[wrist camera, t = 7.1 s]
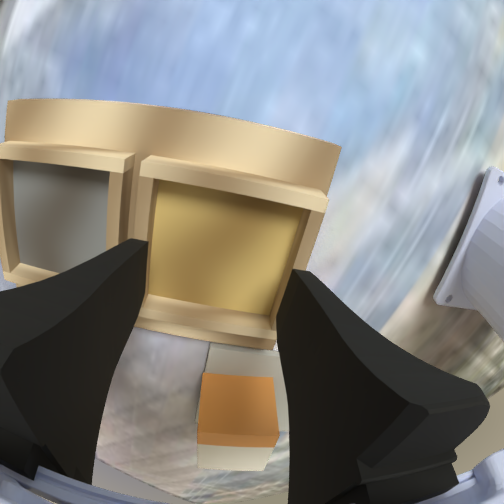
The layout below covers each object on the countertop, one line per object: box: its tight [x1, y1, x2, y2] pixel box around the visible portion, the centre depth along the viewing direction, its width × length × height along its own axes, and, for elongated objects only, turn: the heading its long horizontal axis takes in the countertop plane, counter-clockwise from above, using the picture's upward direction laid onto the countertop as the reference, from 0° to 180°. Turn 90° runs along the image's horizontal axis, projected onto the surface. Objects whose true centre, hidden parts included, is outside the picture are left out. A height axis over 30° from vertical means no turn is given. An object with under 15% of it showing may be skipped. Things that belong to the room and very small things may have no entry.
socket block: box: [0, 99, 342, 350], centre depth 12 cm, size 14×10×2 cm
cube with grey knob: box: [197, 373, 280, 471], centre depth 16 cm, size 4×4×5 cm
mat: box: [195, 342, 289, 431], centre depth 18 cm, size 8×8×1 cm
